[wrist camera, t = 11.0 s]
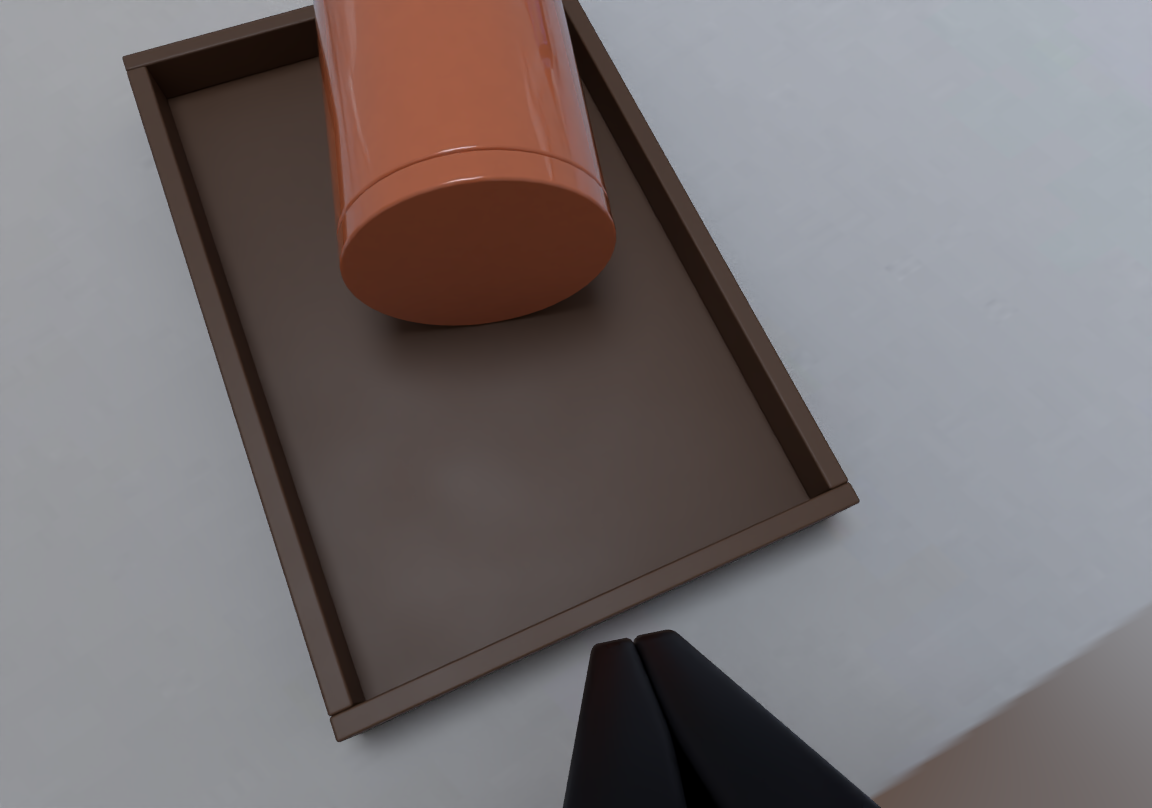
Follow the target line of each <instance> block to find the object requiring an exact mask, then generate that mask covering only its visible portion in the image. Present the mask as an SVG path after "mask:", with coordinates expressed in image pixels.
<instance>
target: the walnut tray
mask: <svg viewBox="0 0 1152 808" xmlns="http://www.w3.org/2000/svg"><path fill="white" fill-rule="evenodd" d="M562 2H563V7H564V11H565V15H566V19H567V23H568V28H569V32H570V36H571V40H572V45H573V49H574V53H575V57H576V62H577V66H578V70H579V74H580V78H581V83H582V87H583V91H584V95H585V100H586V104H587V108H588V112H589V117H590V121H591V125H592V129H593V133H594V138H595V142H596V146H597V150H598V155H599V159H600V163H601V167H602V172H603V176H604V180H605V184H606V188H607V193H608V197H609V201H610V206H611V210H612V214H613V218H614V222H615V226H616V237H617V239H616V244H615V249H614V252H613V254H612V257H611V259H610V261H609V262H608V264H607V265H606V267H605V268H604V269H603V271H602V272H601V273H600V274H599V275H598V276H597V277H596V278H595V279H594V280H593V281H592V282H591V283H589V284H588V285H587V286H585V287H584V288H583V289H581V290H580V291H579V292H577V293H575V294H574V295H572V296H570V297H569V298H567V299H565V300H563V301H561V302H559V303H557V304H555V305H552V306H550V307H547V308H545V309H543V310H540V311H537V312H534V313H531V314H528V315H524V316H520V317H517V318H513V319H508V320H503V321H499V322H492V323H485V324H476V325H459V326H446V325H430V324H421V323H415V322H409V321H405V320H400V319H396V318H393V317H390V316H387V315H384V314H382V313H380V312H378V311H375V310H373V309H371V308H370V307H368V306H366V305H365V304H363V303H362V302H361V301H359V300H358V299H357V298H356V297H355V296H354V295H353V294H352V293H351V292H350V291H349V289H348V288H347V287H346V285H345V283H344V281H343V279H342V277H341V273H340V269H339V261H338V251H337V240H336V230H335V220H334V210H333V200H332V189H331V179H330V169H329V158H328V148H327V138H326V128H325V117H324V107H323V97H322V86H321V76H320V66H319V56H318V45H317V35H316V25H315V15H314V5H311V6H307V7H303V8H299V9H296V10H292V11H288V12H285V13H281V14H277V15H274V16H270V17H266V18H263V19H259V20H255V21H252V22H248V23H244V24H241V25H237V26H233V27H230V28H226V29H222V30H218V31H215V32H211V33H207V34H204V35H200V36H196V37H193V38H189V39H185V40H182V41H178V42H174V43H171V44H167V45H163V46H160V47H156V48H152V49H149V50H145V51H141V52H137V53H134V54H130V55H126V56H123V62H124V65H125V69H126V71H127V75H128V78H129V81H130V85H131V88H132V91H133V94H134V97H135V100H136V104H137V107H138V110H139V113H140V116H141V120H142V123H143V126H144V129H145V132H146V135H147V139H148V142H149V145H150V148H151V151H152V155H153V158H154V161H155V164H156V167H157V171H158V174H159V177H160V180H161V183H162V186H163V190H164V193H165V196H166V199H167V202H168V206H169V209H170V212H171V215H172V218H173V222H174V225H175V228H176V231H177V234H178V237H179V241H180V244H181V247H182V250H183V253H184V257H185V260H186V263H187V266H188V269H189V273H190V276H191V279H192V282H193V285H194V288H195V292H196V295H197V298H198V301H199V304H200V308H201V311H202V314H203V317H204V320H205V323H206V327H207V330H208V333H209V336H210V339H211V343H212V346H213V349H214V352H215V355H216V359H217V362H218V365H219V368H220V371H221V374H222V378H223V381H224V384H225V387H226V390H227V394H228V397H229V400H230V403H231V406H232V410H233V413H234V416H235V419H236V422H237V425H238V429H239V432H240V435H241V438H242V441H243V445H244V448H245V451H246V454H247V457H248V460H249V464H250V467H251V470H252V473H253V476H254V480H255V483H256V486H257V489H258V492H259V496H260V499H261V502H262V505H263V508H264V511H265V515H266V518H267V521H268V524H269V527H270V531H271V534H272V537H273V540H274V543H275V547H276V550H277V553H278V556H279V559H280V562H281V566H282V569H283V572H284V575H285V578H286V582H287V585H288V588H289V591H290V594H291V598H292V601H293V604H294V607H295V610H296V613H297V617H298V620H299V623H300V626H301V629H302V633H303V636H304V639H305V642H306V645H307V648H308V652H309V655H310V658H311V661H312V664H313V668H314V671H315V674H316V677H317V680H318V684H319V687H320V690H321V693H322V696H323V699H324V703H325V706H326V709H327V712H328V715H329V716H332V717H331V718H330V722H331V725H332V728H333V731H334V735H335V738H336V740H337V742H341V741H344V740H346V739H349V738H351V737H353V736H356V735H358V734H361V733H363V732H365V731H367V730H370V729H372V728H374V727H376V726H378V725H380V724H383V723H385V722H387V721H389V720H391V719H393V718H396V717H398V716H400V715H402V714H404V713H406V712H409V711H411V710H413V709H415V708H417V707H419V706H422V705H424V704H426V703H428V702H430V701H432V700H435V699H437V698H439V697H441V696H443V695H445V694H448V693H450V692H452V691H454V690H456V689H458V688H461V687H463V686H465V685H467V684H469V683H471V682H474V681H476V680H478V679H480V678H482V677H484V676H487V675H489V674H491V673H493V672H495V671H497V670H500V669H502V668H504V667H506V666H508V665H510V664H513V663H515V662H517V661H519V660H521V659H523V658H526V657H528V656H530V655H532V654H534V653H536V652H539V651H541V650H543V649H545V648H547V647H549V646H552V645H554V644H556V643H558V642H560V641H562V640H565V639H567V638H569V637H571V636H573V635H575V634H578V633H580V632H582V631H584V630H586V629H588V628H591V627H593V626H595V625H597V624H599V623H601V622H604V621H606V620H608V619H610V618H612V617H614V616H617V615H619V614H621V613H623V612H625V611H627V610H630V609H632V608H634V607H636V606H638V605H641V604H643V603H645V602H647V601H649V600H651V599H654V598H656V597H658V596H660V595H662V594H664V593H667V592H669V591H671V590H673V589H675V588H677V587H680V586H682V585H684V584H686V583H688V582H690V581H693V580H695V579H697V578H699V577H701V576H703V575H706V574H708V573H710V572H712V571H714V570H716V569H719V568H721V567H723V566H725V565H727V564H729V563H732V562H734V561H736V560H738V559H740V558H742V557H745V556H747V555H749V554H751V553H753V552H755V551H758V550H760V549H762V548H764V547H766V546H768V545H771V544H773V543H775V542H777V541H779V540H781V539H784V538H786V537H788V536H790V535H792V534H794V533H797V532H799V531H801V530H803V529H805V528H807V527H810V526H812V525H814V524H816V523H818V522H820V521H823V520H825V519H827V518H829V517H831V516H833V515H835V514H837V513H839V512H841V511H843V510H845V509H847V508H849V507H851V506H853V505H855V504H857V503H859V498H858V496H857V495H856V493H855V491H854V489H853V488H852V486H851V484H850V483H847V482H848V479H847V477H846V475H845V473H844V472H843V470H842V468H841V466H840V465H839V463H838V461H837V459H836V457H835V456H834V454H833V452H832V450H831V449H830V447H829V445H828V443H827V441H826V440H825V438H824V436H823V434H822V433H821V431H820V429H819V427H818V426H817V424H816V422H815V420H814V418H813V417H812V415H811V413H810V411H809V410H808V408H807V406H806V404H805V402H804V401H803V399H802V397H801V395H800V394H799V392H798V390H797V388H796V386H795V385H794V383H793V381H792V379H791V378H790V376H789V374H788V372H787V370H786V369H785V367H784V365H783V363H782V362H781V360H780V358H779V356H778V355H777V353H776V351H775V349H774V347H773V346H772V344H771V342H770V340H769V339H768V337H767V335H766V333H765V331H764V330H763V328H762V326H761V324H760V323H759V321H758V319H757V317H756V315H755V314H754V312H753V310H752V308H751V307H750V305H749V303H748V301H747V300H746V298H745V296H744V294H743V292H742V291H741V289H740V287H739V285H738V284H737V282H736V280H735V278H734V276H733V275H732V273H731V271H730V269H729V268H728V266H727V264H726V262H725V260H724V259H723V257H722V255H721V253H720V252H719V250H718V248H717V246H716V244H715V243H714V241H713V239H712V237H711V236H710V234H709V232H708V230H707V229H706V227H705V225H704V223H703V221H702V220H701V218H700V216H699V214H698V213H697V211H696V209H695V207H694V205H693V204H692V202H691V200H690V198H689V197H688V195H687V193H686V191H685V189H684V188H683V186H682V184H681V182H680V181H679V179H678V177H677V175H676V173H675V172H674V170H673V168H672V166H671V165H670V163H669V161H668V159H667V158H666V156H665V154H664V152H663V150H662V149H661V147H660V145H659V143H658V142H657V140H656V138H655V136H654V134H653V133H652V131H651V129H650V127H649V126H648V124H647V122H646V120H645V118H644V117H643V115H642V113H641V111H640V110H639V108H638V106H637V104H636V103H635V101H634V99H633V97H632V95H631V94H630V92H629V90H628V88H627V87H626V85H625V83H624V81H623V79H622V78H621V76H620V74H619V72H618V71H617V69H616V67H615V65H614V63H613V62H612V60H611V58H610V56H609V55H608V53H607V51H606V49H605V47H604V46H603V44H602V42H601V40H600V39H599V37H598V35H597V33H596V32H595V30H594V28H593V26H592V24H591V23H590V21H589V19H588V17H587V16H586V14H585V12H584V10H583V8H582V7H581V5H580V3H579V1H578V0H562Z"/></svg>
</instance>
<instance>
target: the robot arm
mask: <svg viewBox="0 0 1152 808" xmlns="http://www.w3.org/2000/svg"><path fill="white" fill-rule="evenodd" d="M563 808H881V807H879V806H878V805H877V804H876V803H875V802H874V801H873V800H871V799H870V798H869V797H868V796H867V795H866V794H864V793H863V792H862V791H861V790H860V789H859V788H857V787H856V786H855V785H854V784H853V783H852V782H850V781H849V780H848V779H847V778H846V777H845V776H843V775H842V774H841V773H840V772H839V771H838V770H836V769H835V768H834V767H833V766H832V765H831V764H829V763H828V762H827V761H826V760H825V759H824V758H822V757H821V756H820V755H819V754H818V753H817V752H815V751H814V750H813V749H812V748H811V747H810V746H808V745H807V744H806V743H805V742H804V741H803V740H801V739H800V738H799V737H798V736H797V735H796V734H794V733H793V732H792V731H791V730H790V729H789V728H787V727H786V726H785V725H784V724H783V723H782V722H780V721H779V720H778V719H777V718H776V717H775V716H773V715H772V714H771V713H770V712H769V711H768V710H766V709H765V708H764V707H763V706H762V705H761V704H759V703H758V702H757V701H756V700H755V699H754V698H752V697H751V696H750V695H749V694H748V693H747V692H745V691H744V690H743V689H742V688H741V687H740V686H738V685H737V684H736V683H735V682H734V681H733V680H731V679H730V678H729V677H728V676H727V675H726V674H724V673H723V672H722V671H721V670H720V669H719V668H718V667H716V666H715V665H714V664H713V663H712V662H711V661H709V660H708V659H707V658H706V657H705V656H704V655H702V654H701V653H700V652H699V651H698V650H697V649H695V648H694V647H693V646H692V645H691V644H690V643H688V642H687V641H686V640H685V639H684V638H683V637H681V636H680V635H679V634H678V633H676V632H675V631H672V630H663V631H658V632H653V633H648V634H643V635H639V636H637V637H636V638H635V639H634V642H632V640H631V639H628V638H623V639H618V640H613V641H608V642H603V643H598V644H596V645H594V646H593V648H592V650H591V654H590V660H589V665H588V671H587V677H586V682H585V688H584V693H583V699H582V704H581V710H580V715H579V721H578V726H577V732H576V738H575V743H574V749H573V754H572V760H571V765H570V771H569V776H568V782H567V788H566V793H565V799H564V804H563Z"/></svg>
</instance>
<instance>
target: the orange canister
mask: <svg viewBox="0 0 1152 808" xmlns="http://www.w3.org/2000/svg"><path fill="white" fill-rule="evenodd" d="M313 4H314V15H315V25H316V35H317V45H318V56H319V66H320V76H321V86H322V97H323V107H324V117H325V128H326V138H327V148H328V158H329V169H330V179H331V189H332V200H333V210H334V220H335V230H336V240H337V251H338V261H339V269H340V273H341V277H342V279H343V281H344V283H345V285H346V287H347V288H348V289H349V291H350V292H351V293H352V294H353V295H354V296H355V297H356V298H357V299H358V300H359V301H361V302H362V303H363V304H365V305H366V306H368V307H370V308H371V309H373V310H375V311H378V312H380V313H382V314H384V315H387V316H390V317H393V318H396V319H400V320H405V321H409V322H415V323H421V324H430V325H446V326H459V325H476V324H485V323H492V322H499V321H503V320H508V319H513V318H517V317H520V316H524V315H528V314H531V313H534V312H537V311H540V310H543V309H545V308H547V307H550V306H552V305H555V304H557V303H559V302H561V301H563V300H565V299H567V298H569V297H570V296H572V295H574V294H575V293H577V292H579V291H580V290H581V289H583V288H584V287H585V286H587V285H588V284H589V283H591V282H592V281H593V280H594V279H595V278H596V277H597V276H598V275H599V274H600V273H601V272H602V271H603V269H604V268H605V267H606V265H607V264H608V262H609V261H610V259H611V257H612V254H613V252H614V249H615V244H616V239H617V237H616V226H615V222H614V218H613V214H612V210H611V206H610V201H609V197H608V193H607V188H606V184H605V180H604V176H603V172H602V167H601V163H600V159H599V155H598V150H597V146H596V142H595V138H594V133H593V129H592V125H591V121H590V117H589V112H588V108H587V104H586V100H585V95H584V91H583V87H582V83H581V78H580V74H579V70H578V66H577V62H576V57H575V53H574V49H573V45H572V40H571V36H570V32H569V28H568V23H567V19H566V15H565V11H564V7H563V2H562V0H313Z"/></svg>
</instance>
